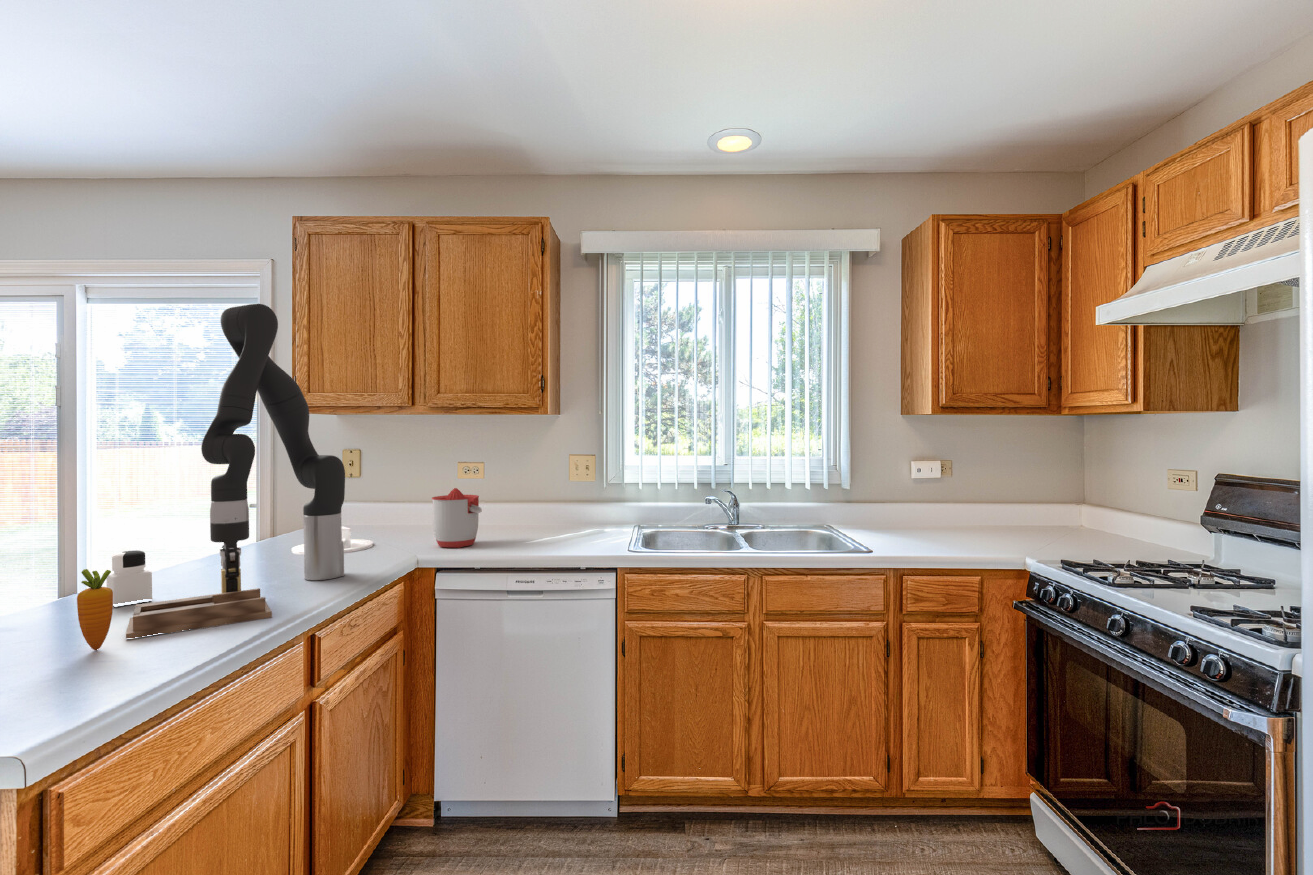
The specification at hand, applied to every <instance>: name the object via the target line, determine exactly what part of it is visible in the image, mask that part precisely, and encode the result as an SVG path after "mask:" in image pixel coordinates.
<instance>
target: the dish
mask: <svg viewBox="0 0 1313 875" xmlns="http://www.w3.org/2000/svg"><path fill="white" fill-rule="evenodd" d="M351 530H352V528H349V527H347V526H344V525H342V541H343V542H344V554H345V553H346V554H347V553H353V552H354V553H355V552H359V551H364V550H367V549H370V548H372V547H373V546H374V542H373V541H372V540H369V539H368V540H367V539H361V538H360V539H358V538H356V539H354V538H352V531H351ZM291 552H292V554H294V555H297V556H302V555H303V556H304V543H303V544H299V545H295V546H293V547H291Z"/></svg>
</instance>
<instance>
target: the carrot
mask: <svg viewBox="0 0 1313 875" xmlns="http://www.w3.org/2000/svg"><path fill="white" fill-rule="evenodd" d="M111 572H112V570H110V569H106V570H105V571H104V573H102V575H100V573H99V572H98V570H93V571H91V572H90V570H89V569H87V568H84V569H83V570H81V572H80V573H81V574H82V576H83V578H85V580H82V581H80V583H81V584H83V585H84V586H87V587H88V588H85V589H84V590H81V592H79V593H78V594H77V596H76V606H77V607H76V608H77V617H78V618H77V619H78V624H79V627H80V629H81V633H82V636H83V639H84V640H85V642H86V643H87V644H88V645H89V647H90V648H91V649H92V650H94V651H95V650H97V649H98V650H99V649H101V647H102V645H103V643H104V642H105V641H106V638H107V636H108V634H109V631H110V627H111V622H112V617H113V609H114V607H113V591H112V589H110V588H107V586H103V585H104V583H105V581H106V578H107V577H108V575H109V574H110V573H111ZM98 650H97V651H98Z"/></svg>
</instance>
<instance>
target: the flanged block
mask: <svg viewBox="0 0 1313 875" xmlns="http://www.w3.org/2000/svg"><path fill="white" fill-rule="evenodd" d="M229 572H235V569H229ZM239 573H240V575H239V577H238V591H242V575H241V574H242V572H241V567H240V568H239ZM220 578H221V579H220V580H221V581H220V584H221V589H220V590H221V593H226V579H225V570H223V569H222V568H220Z"/></svg>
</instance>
